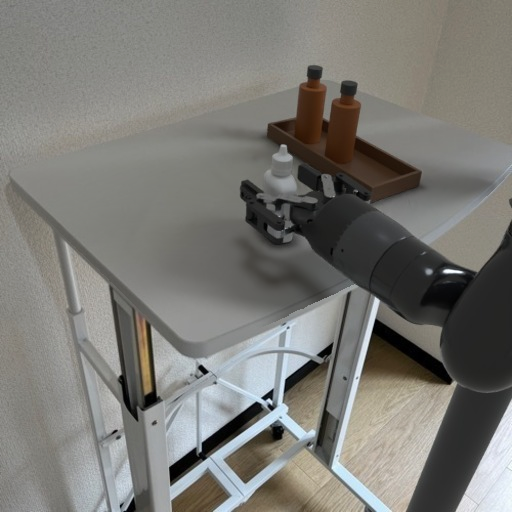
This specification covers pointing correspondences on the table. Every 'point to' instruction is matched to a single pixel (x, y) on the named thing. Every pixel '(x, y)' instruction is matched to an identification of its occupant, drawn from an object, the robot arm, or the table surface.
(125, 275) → the table surface
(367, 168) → the tray
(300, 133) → the amber bottle far
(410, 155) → the table surface
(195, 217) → the table surface
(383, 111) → the table surface
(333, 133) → the amber bottle middle
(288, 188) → the eye dropper bottle
